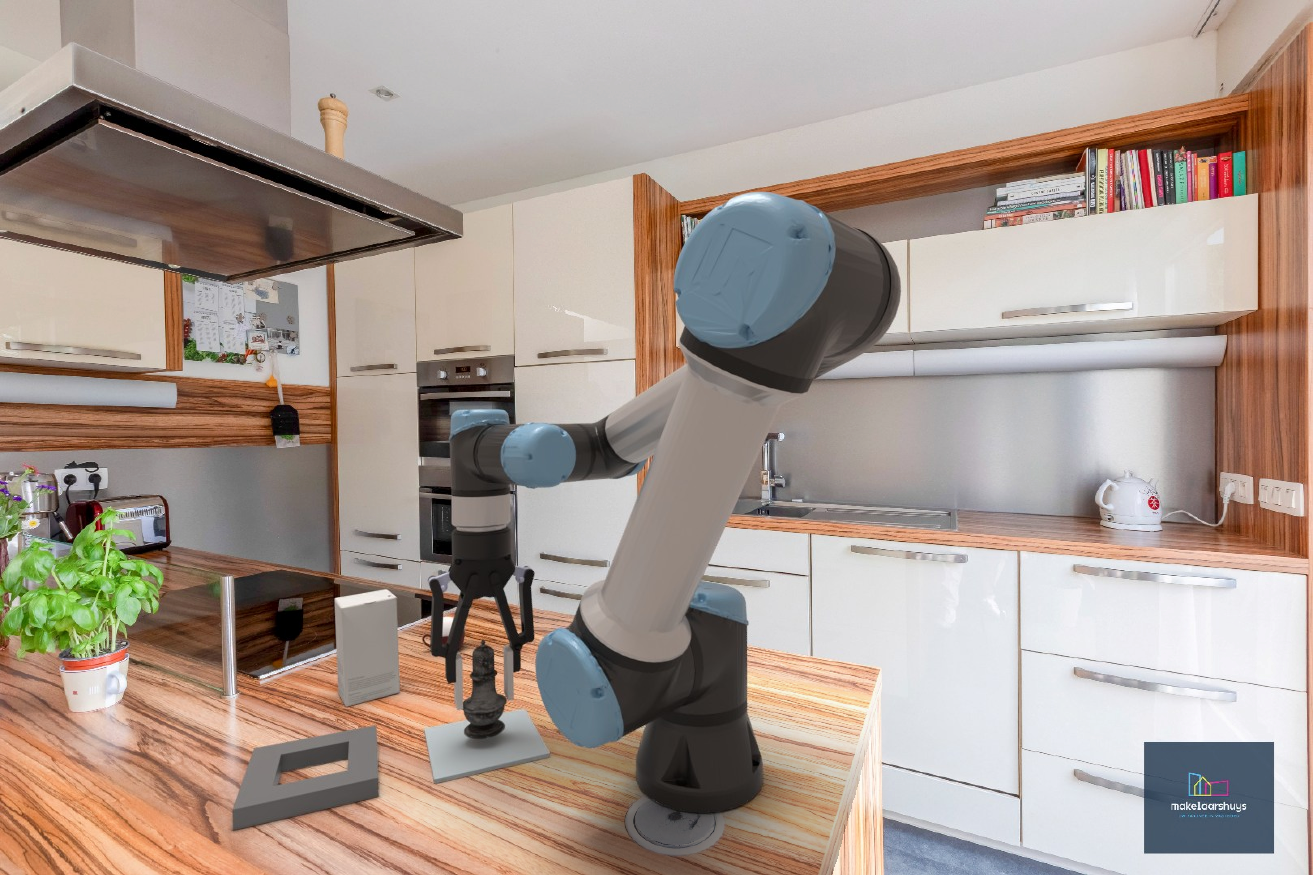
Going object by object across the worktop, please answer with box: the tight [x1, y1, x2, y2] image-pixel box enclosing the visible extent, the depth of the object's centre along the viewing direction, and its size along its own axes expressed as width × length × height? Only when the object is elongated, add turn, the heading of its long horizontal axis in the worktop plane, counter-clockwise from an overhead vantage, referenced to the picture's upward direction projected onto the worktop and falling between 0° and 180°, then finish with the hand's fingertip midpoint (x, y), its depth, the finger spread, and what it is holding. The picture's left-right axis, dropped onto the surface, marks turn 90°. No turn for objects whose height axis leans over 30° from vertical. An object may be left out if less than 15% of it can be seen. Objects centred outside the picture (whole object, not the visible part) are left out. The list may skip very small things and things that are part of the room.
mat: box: [423, 708, 551, 785], centre depth 84 cm, size 14×14×1 cm
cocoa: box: [421, 616, 466, 650], centre depth 119 cm, size 10×6×12 cm, turn 85°
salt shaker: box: [462, 638, 508, 739], centre depth 84 cm, size 6×6×12 cm
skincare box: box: [334, 589, 401, 708], centre depth 100 cm, size 8×7×16 cm
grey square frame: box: [231, 724, 380, 831], centre depth 76 cm, size 14×14×2 cm
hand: (484, 700), depth 84 cm, fingers closed on salt shaker, 6 cm apart
